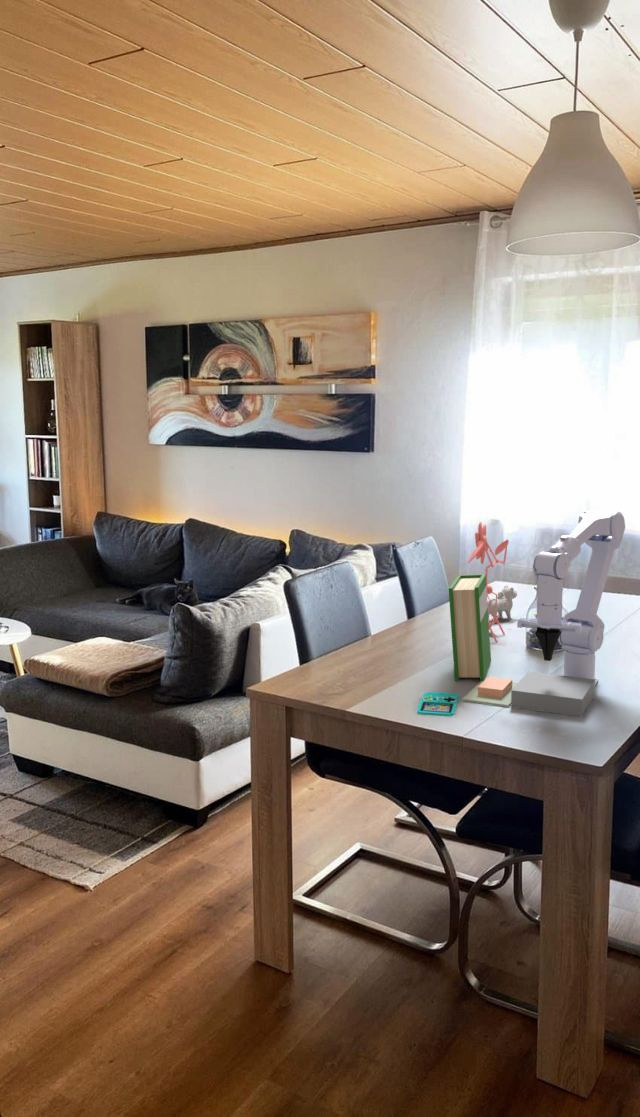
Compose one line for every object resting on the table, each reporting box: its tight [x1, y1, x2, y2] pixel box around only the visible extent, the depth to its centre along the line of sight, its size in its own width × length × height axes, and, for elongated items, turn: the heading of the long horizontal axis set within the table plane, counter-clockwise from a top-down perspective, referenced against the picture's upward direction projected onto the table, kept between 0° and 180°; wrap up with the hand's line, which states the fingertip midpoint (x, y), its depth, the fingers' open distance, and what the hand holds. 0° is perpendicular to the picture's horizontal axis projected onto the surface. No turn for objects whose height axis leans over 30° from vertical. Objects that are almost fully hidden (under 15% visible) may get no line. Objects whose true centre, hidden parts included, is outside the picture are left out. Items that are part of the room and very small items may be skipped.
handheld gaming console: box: [416, 691, 459, 717], centre depth 210 cm, size 8×1×15 cm
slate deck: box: [510, 671, 596, 717], centre depth 210 cm, size 16×16×4 cm
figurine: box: [467, 521, 513, 643], centre depth 266 cm, size 15×26×35 cm, turn 155°
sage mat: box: [462, 678, 518, 708], centre depth 217 cm, size 17×11×1 cm, turn 153°
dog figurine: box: [487, 585, 518, 624], centre depth 289 cm, size 5×13×11 cm, turn 127°
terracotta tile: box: [478, 676, 513, 698], centre depth 217 cm, size 9×6×2 cm, turn 153°
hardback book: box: [448, 573, 492, 682], centre depth 232 cm, size 18×7×24 cm, turn 164°
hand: (548, 659), depth 210 cm, fingers closed
